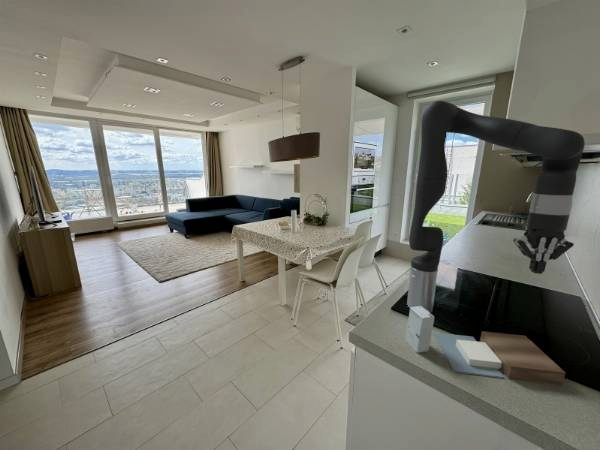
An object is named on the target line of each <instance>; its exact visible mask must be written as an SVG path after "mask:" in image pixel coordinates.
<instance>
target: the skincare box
mask: <svg viewBox="0 0 600 450" xmlns="http://www.w3.org/2000/svg"><path fill="white" fill-rule="evenodd" d="M434 322H435V316H434V315H433V314H432V313H429V312H428V311H427V310H426V309H424V308H423V307H422V306H416V307H410V309H409V314H408V320H407V327H406V334H405V341H406V342H407V344H408V345H409V346H410V347H411V348H412V349H413V351H414V352H416V353H424V352H429V350H430V344H431V340H432V339H431V338H432V332H433V329H434Z"/></svg>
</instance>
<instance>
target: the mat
mask: <svg viewBox="0 0 600 450" xmlns="http://www.w3.org/2000/svg"><path fill="white" fill-rule="evenodd" d="M433 336H434V337H435V339H436V341H437V343H438V345H439V346H440V348H441V350H442V351H443V354H444V355H445V357H446V359H447V361H448V363H449V366H450V367H451V369H452V370H453V372H454V373H458V374H459V373H460V374H468V375H474V376H475V375H476V376H483V377H488V378H489V377H490V378H499V379H505V376H504V375H503V373H502V372H501V371H500V370H499V369H498V368H490V367H481V366H472V365H468V363H467V362H466V360H465V359H464V357H463V355H462V354H461V352H460V351H459V349H458V348H457V346H456V340H466V341H476V342H478V341H477V340H476V339H475V337H474V336H471V335H470V336H469V335H461V334H453V333H452V334H451V333H442V332H433Z"/></svg>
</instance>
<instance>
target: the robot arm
mask: <svg viewBox="0 0 600 450" xmlns="http://www.w3.org/2000/svg"><path fill="white" fill-rule="evenodd" d="M420 123H421V124H420V125H421V130H420V131H421V137H420V139H421V140H420V154H419V161H418V162H419V163H418V169H417V170H418V171H417V176H416V177H417V178H416V188H415V196H414V197H415V198H414V209H413V215H412V218H411V219H412V221H411V225H410V231H409V237H408V244H409V248H410V249H411V250H413V251H419V252H425V253H423V254H420V255H417V256H414V257H412V259H411V263H410V273H409V283H408V290H407V291H408V292H407V302H406V305H408V306H407V308H408V307H409V308H410V307H416V306H422V307H423V308H424V309H426V310H427V311H428V312H429V313H430V314H432V313H433V307H434V303H435V301H434V300H435V294H436V287H437V279H438V278H437V277H438V270H439V269H438V268H439V265H440V262H441V261H440V260H441V256H442V255H441V254H442V250H443V245H444V232H443V229H441V228H440V227H438V226H424V222H425V221H426V217H427V216H428V214H429V213H430V212H431V210H432V209H433V208H434V207H435V206H436V204H437V203H438V202H439V201H440V200H441V199H442V197H443V196H444V194H445V193H446V189H447V183H448V182H447V181H448V173H449V172H448V171H449V170H448V163H447V157H446V150H445V149H446V147H445V145H446V139H447V134H448V133H450V134H459V135H465V136H469V137H473V138H476V139H479V140H481V141H484V142H487V143H489V144H491V145H492V144H493V145H496V146H499V147H503V148H506V149H510V150H514V151H518V152H525V153H528V154H532V155H533V156H534V155H535V156H538V157H541V158H542V162H541V163H542V164H541V170H540V173H539V175H538V176H537V179H536V183H535V189H534V193H533V196H532V199H531V201H530V206H529V211H528V218H527V222H526V231H525V232H524V233H523V236H520V237H519V238H513V240H512V241H513V242H514V244H515V246H516V247H517V248H518V250H519V251H520V253H521V254H522V255H523V256H524V257H527V258H528V259H530V261H529V266H528V267H529V270H530V272H531V273H533V274H537V275H538V274H540V275H542V274H543V272H545V271H546V266H547V262H548V261H550V260H557V259H559V257H561V256H562V255H563V254H565V253H566V252H568V251H569V250H570V249H571V248H572V247H574V245H575V243H574V242H571V241H568V240H567V239H566V234H565V231H566V230H567V227H568V224H569V219H570V214H571V211H572V208H573V207H572V206H573V196H574V192H575V188H576V181H577V171H578V168H579V165H580V162H581V159H582V156H583V153H584V149H585V144H586V142H585V138H584V136H583V135H582V134H581V133H580V132H577V131H575V130H570V129H565V128H559V127H552V126H550V127H549V126H543V125H537V124H535V123H530V122H526V121H523V120H521V121H520V120H516V119H510V118H505V117H497V116H496V117H495V116H488V115H484V114H483V115H482V114H476V113H473V112H471V111H468V110H465V109H463V108H461V107H459V106H457V105H455V104H454V103H452V102H448V101H444V100H436V101H435V100H434V101H433V102H431V103H429V104H428V105H427V107H426V108H425V109H424V111H423V113H422V117H421V122H420ZM528 244H529V246H528ZM409 308H408V309H409Z"/></svg>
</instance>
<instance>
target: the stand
mask: <svg viewBox="0 0 600 450" xmlns="http://www.w3.org/2000/svg"><path fill="white" fill-rule="evenodd" d="M479 342H485V343H486V344H487V345H488V346H489V348H490V349H491V350H492V351H493V352H494V354H495V355H496V356H497V357H498V358H499V359H500V361H501V362H502V366H501V369H500V370H501V371H502V372H503V373H502V374H504V375H505V376H506V378H507V379H508V380H514V381H523V382H529V383H536V384H545V385H553V386H560V387H562V386H563V383H564V380H565V376H566V371H564V370H563V369H562V367H560V366H559V365H558V364H557V363H555V361H553V359H551V358H550V357H549V356H548V355H547V354H546V353H545V352H544V351H542V349H541V348H539V346H537V344H535V343H534V342H533V341H532V340H531V339H529V338H528V337H527V336H526V335H521V334H512V333H511V334H510V333H503V332H492V331H491V332H490V331H481V334H480V339H479Z"/></svg>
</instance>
